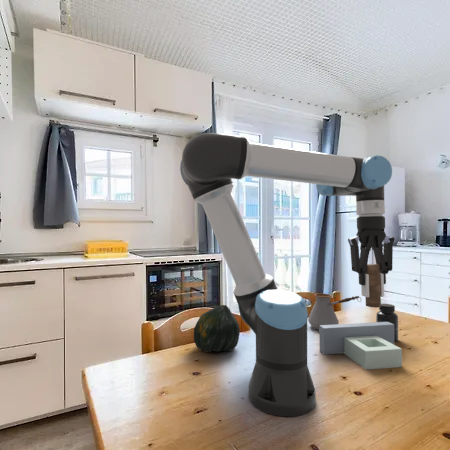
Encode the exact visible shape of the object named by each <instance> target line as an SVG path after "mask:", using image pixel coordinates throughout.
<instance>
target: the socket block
mask: <svg viewBox="0 0 450 450" xmlns="http://www.w3.org/2000/svg"><path fill="white" fill-rule="evenodd" d="M343 354H344V355H346V356H347V357H348V358H350V359H351V360H352V361H354V362H355V363H356V364H358V365H359V366H360V367H362V368H363V369H364V370H377V369H378V370H379V369H390V368H402V367H403V350H402V348H401V347H399V346H397V345H395V343H394V344H392V343H390V342H388V341H386V340H384V339H382V338H380V337H379V336H360V337H344V353H343Z"/></svg>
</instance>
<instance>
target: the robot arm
mask: <svg viewBox="0 0 450 450" xmlns="http://www.w3.org/2000/svg"><path fill="white" fill-rule="evenodd" d="M179 170H180V175H181V179H182V180H183V182H184V183H185V185H186V186H187V187H188V189H189V191H190V193H191V197H192V198H193V201H194V202H196V203H198V204H200V205H201V206H202V207H203V210H204V212H205V215H206V217H207V220H208V222H209V224H210V227H211V230H212V232H213V234H214V236H215V238H216V241H217V243H218V246H219V248H220V250H221V253H222V255H223V258H224V261H225V262H226V265H227V267H228V269H229V271H230V274H231V276H232V279H233V282H234V284H235V287H234V289H233V292H232V293H233V296H234V298H235V300H236V302H237V306H238V312H239V314H240V316H241V319H242V321H243V322H244V323H245V324H246V325H247V326H248V327H249V328H250V329H251V330H252V332H253V333H254V334H255V364H254V367H253V370H252V373H251V376H250V379H249V382H248V399H249V401H250V403H251V404H252V405H253V406H254V407H255V408H256V409H258V410H259V411H262V412H264V413H267V414H269V415H273V416H279V417H298V416H303V415H306V414H307V413H309V412H311V411H312V410H314V408H315V406H316V402H317V399H316V397H317V394H316V393H317V391H316V388H315V385H314V381H313V378H312V375H311V372H310V369H309V366H308V365H309V364H308V318H309V315H308V309H307V308H308V307H307V302H306V299H305V298H303V297H302V296H301V295H300V294H298V293H296V292H293V291H289V290H285V289H284V290H283V289H278V286H277V284H276V282H275V280H274V277H273V276H272V275H271V274H267V273H266V272H265V269H264V268H263V265H262V263H261V260H260V259H259V256H258V252H257V251H256V248H255V247H254V243H253V241H252V239H251V236H250V234H249V232H248V229H247V227H246V224H245V222H244V220H243V217H242V215H241V213H240V210H239V208H238V205H237V202H236V200H235V199H234V195H233V193H232V191H233V188H234V186H235V183H234V181H233V180H234V179H235V180H242V179H243V178H245V177H247V176H248V177H254V178H264V179H271V180H273V179H274V180H280V181H286V182H287V181H288V182H298V183H304V184H313V185H316V186H315V187H316V190H317V192H318V194H319V195H321V196H325V197H326V196H327V197H328V196H329V197H338V196H339V197H340V196H341V197H343V196H344V197H345V196H346V197H347V196H348V197H349V196H352V197H353V196H354V197H355V200H356V201H355V202H356V208H355V209H356V210H355V211H356V212H355V213H356V215H357V218H356V230H357V233H356V234H355V235H356V236H353V237H348V238H347V242H348V244H349V248H350V249H349V250H350V261H351V271H352V272H355V273H357V274H358V285H360V286H361V297H364V298H366V297H369V274H366V270H367V264H369V256H370V252H371V250H372V251H373V254H374V259H375V264H379V265H380V292H381V297H385V285H386V284H387V276H386V275H387V274H389V272H391V271H392V270H393V259H394V257H393V256H394V255H393V254H394V253H393V251H394V250H393V249H394V247H393V245H394V242H395V237H393V236H388V235H387V234H386V232H385V229H386V217H385V216H383V215H385V208H386V206H385V186H386V185H387V184H388V183H389V182H390V181H391V179H392V175H393V167H392V165H391V162H390V161H389V160H388V159H387V158H386V157H385V156H384V155H383V156H382V155H379V154H378V155H372V156H371V155H369V156H367V157H365V158H362V157H356V156H355V157H354V156H346V155H339V154H338V155H337V154H332V153H324V152H318V151H317V152H316V151H312V150H311V151H309V150H305V149H304V150H303V149H298V148H291V147H290V148H289V147H283V146H277V145H270V144H263V143H256V142H251V141H250V140H249V138H248V137H247V136H240V135H234V134H227V133H221V132H220V133H217V132H203V133H200V134H198V135H195V136H193V137H192V138H190V139H189V141H188V142H187V143H186V144H185V146H184V148H183V151H182V156H181V161H180V168H179ZM359 243H360V247H359Z"/></svg>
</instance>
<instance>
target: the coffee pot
mask: <svg viewBox="0 0 450 450" xmlns="http://www.w3.org/2000/svg"><path fill="white" fill-rule="evenodd" d="M314 297H315V302H314V304H313V307H312V309H311V311H310V313H309V315H308V320H307V322H308V324H309V325H310V326H311V327H312V328H313V327H314V328H315V329H314V328H313V329H314V330H318V331H319V325H336V324H339V323H340V322H339V320H338V317H337V313H336V312H335V309H334V307H333V306H334V305H336V304H341V303H347V302H350V301H355V300H357V301H358V302H359V303H361V302H362V298H361V297H360V296H359V295H356V296H352V297H345V298H344V299H340V300H337V301H333V302H331V298H332V297H333V296H332V294H329V293H314ZM358 299H360V301H359V300H358Z"/></svg>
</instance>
